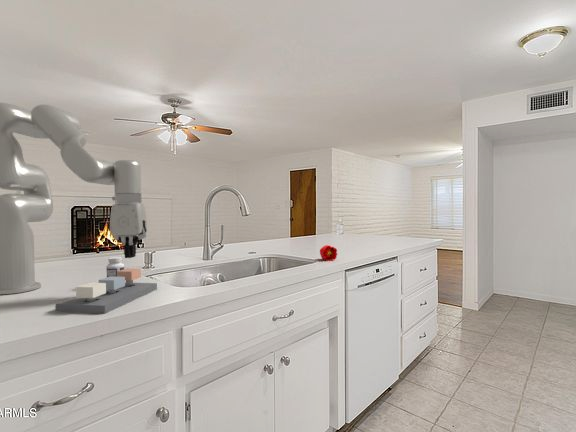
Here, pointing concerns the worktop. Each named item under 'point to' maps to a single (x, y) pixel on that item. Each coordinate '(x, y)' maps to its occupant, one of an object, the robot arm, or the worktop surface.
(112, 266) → the pill bottle
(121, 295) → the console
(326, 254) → the flower
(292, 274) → the worktop surface
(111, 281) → the slate key
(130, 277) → the terracotta key
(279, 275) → the worktop surface
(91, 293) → the ivory key
